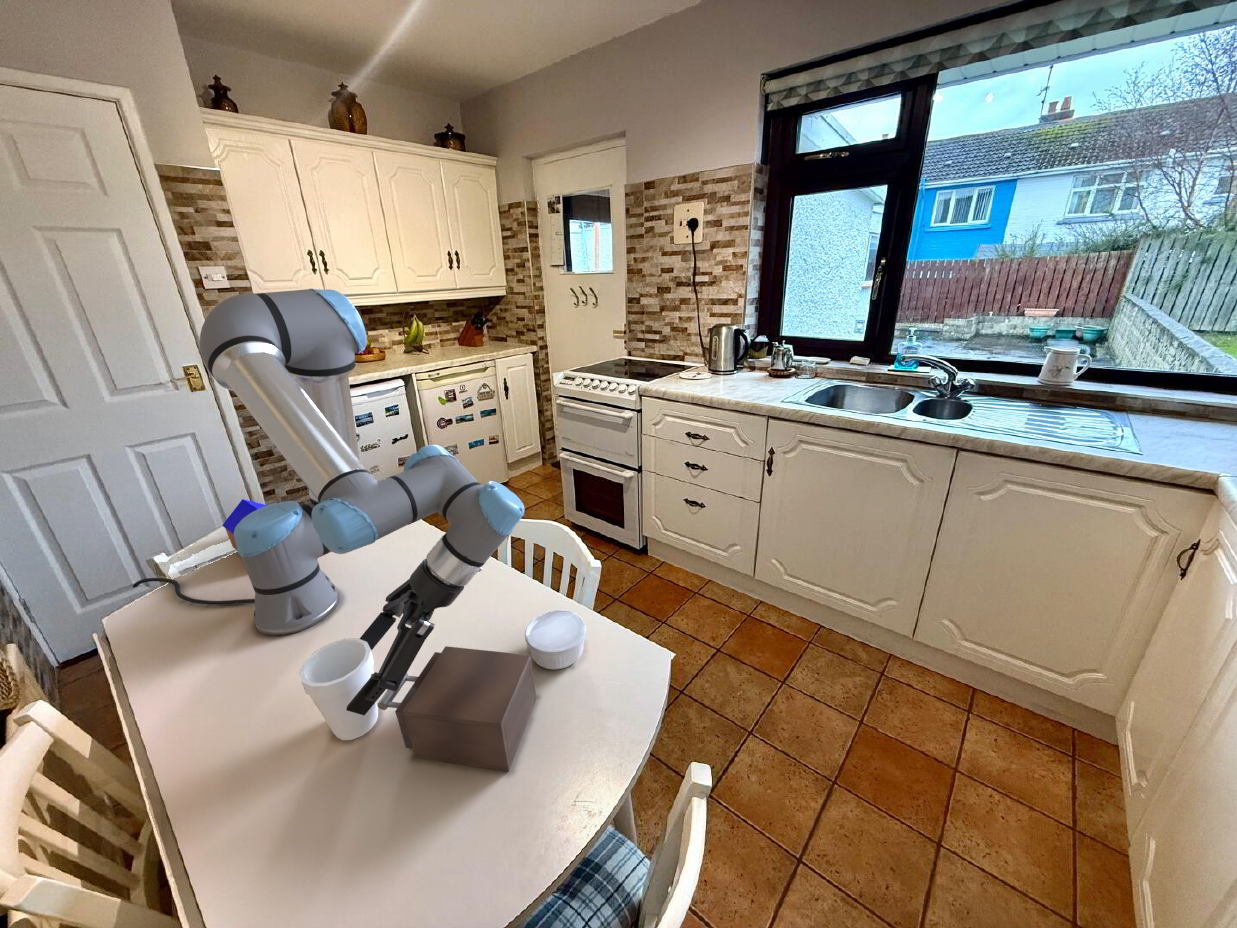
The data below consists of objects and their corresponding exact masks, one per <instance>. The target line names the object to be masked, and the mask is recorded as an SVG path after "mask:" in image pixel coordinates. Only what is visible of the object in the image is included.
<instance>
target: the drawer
mask: <svg viewBox="0 0 1237 928" xmlns="http://www.w3.org/2000/svg"><path fill="white" fill-rule="evenodd" d="M440 654H441V652H438V651H435V652H434V653H432V655H431V657H430V659H429V660H428V662H427V663H426V664H425V666H424V668H423V669H422V671H421V672H420V674H419V675H418V676H415V675H409V674H408V672H407V673H406V675H405V677H404V678H403V680H402V682H401V684H400V686H399V687H398V689H397V690H396V691H395V692H394V691H391V690H388V689H386V690H385V692H384V693H383V694H382V697H380V700H378V701H377V706H378V709H380V710H382V711H386V710H387V709H388V708H391V709H395V711H394V712H395V714H396V720H397V722H398V726H399V730H400V733H401V736H402V740H403V743H404V747H405V749H406V750H407V749H408V750H413V748H412V744H411V741H410V737H409V733H408V730H407V726H406V723H405V719H404V715H403V710H404V709H405V707H406V706H407V704H408V703H409V701H410V700H411V698H412V696H413V695H414V693H415V692H416V690H417V689H418V687H419V686H420V684H421V683H422V681H423V680H424V678H425V677H426V675H427V674H428V672H429V671H430V669H431V668H432V666H433V665H434V663H435V661H436V660H437V658H438V657H439V655H440ZM406 682H413V684H412V685H411V687H410V688H409V690H408V691H407V693H405V696H404V697H403V698H402V700H401V701H400V702H398V701H394V699H395V698H396V697H397V695H398V694H399V692H400V690H401V689H402V688H403V686H404V685H405V684H406Z"/></svg>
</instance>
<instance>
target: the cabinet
mask: <svg viewBox="0 0 1237 928" xmlns="http://www.w3.org/2000/svg"><path fill="white" fill-rule="evenodd" d="M440 653H441V654H440V655H439V657H438V658H437V660H436V661H435V663H434V665H433V666H432V668H431V669H430V671H429V672H428V674H427V675H426V677H425V678H424V680H423V681H422V683H421V684H420V686H419V687H418V689H417V690H416V692H415V693H414V695H413V696H412V698H411V700H410V701H409V703H408V704H407V706H406V707H405V709H404V710H403V715H404V719H405V723H406V726H407V730H408V733H409V737H410V741H411V744H412V748H413V749H412V752H413V754H414V758H415V759H418V760H426V761H432V762H433V761H434V762H440V763H446V764H454V765H459V766H467V767H473V768H474V767H476V768H482V769H488V770H496V771H502V772H510V769H511V767H512V765H513V762H514V759H515V756H516V754H517V751H518V749H519V746H520V743H521V740H522V738H523V735H524V732H525V730H526V727H527V725H528V722H529V719H530V716H531V714H532V712H533V709H534V706H535V704H536V700H537V695H536V694H537V693H536V686H535V685H536V684H535V678H534V671H533V663H532V655H531V654H525V653H524V654H523V653H515V652H507V651H495V650H487V649H477V648H468V647H467V648H466V647H458V646H447V645H445V646H444V648H443V649H442V651H441V652H440Z"/></svg>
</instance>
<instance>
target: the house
mask: <svg viewBox="0 0 1237 928" xmlns="http://www.w3.org/2000/svg"><path fill="white" fill-rule="evenodd" d="M267 505H268V504H265V503H261V502H256V501H252V500H248V499H244V498H242V499H241V500H240V501H239V502H238V504H237V505H236V507H235V508H234V509H233V511H232V512H231V513H230V514H229V515H228V517H227V518H226V520H224V522H223V524H222V526H221V527H223V528H224V529H225V531H226V535H227V536H228V539H229V541H230V544H231V547H232V548H233V549H234V550H236V551H237V546H236V542H235V538H234V530H235V528H236V526H237V525H238V524H239V523H240V521H241V520H242V519H243V518H244V517H246V516H247V515H249V514H250V513H252V512H254V511H256V510H258V509H260V508H262V507H264V506H267Z"/></svg>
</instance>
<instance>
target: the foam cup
mask: <svg viewBox="0 0 1237 928" xmlns="http://www.w3.org/2000/svg"><path fill="white" fill-rule="evenodd" d="M374 663H375V658H374V655H373V652H372V650H371V649H370V647H369V645H368V643H367V642H366V641H363V640H361V639H360V638H359V637H356V638H355V637H354V638H351V637H350V638H342V639H338V640H335V641H331V642H329V643H327V644H326V645H323V646H321V647H320V648H319V649H317V650H315V651H314V652H313V653H312V654H311V655H310V656H308V657H307V658H306V659H305V660H304V661H303V664H302V665H301V668H300V670H299V672H298V674H299V678H300V680H301V681H300V682H301V684H302V686H303V689H304V691H305V694H306V695H308V696H309V697H310V698H311V700H312V702H313V703H314V705H315V706H316V708H317V710H318V711H319V713H320V714H321V716H322V717H323V719H324V720H325V722H326V723H327V725H328V726H329V728H330V730H331V732H332V733H333V735H334V736H335V737H336V738H337V739H339V740H340V741H341V740H342V741H352V740H355V739H358V738H360V737H362V736H364V735H365V734H367V733H368V732H370V731H371V730H372V729H373V727H374V726H375V725H376V723H377V721H378V718H379V707H378V706H377V704H378V700H377V701H376V702H375V703H374V705H373V706H372V707H371V708H370V709H369V711H368V712H367V713H366V714H365V716H364V715H361V714H357V713H354V712H350V711H347V710H346V709H347V705H348V704H349V703H350V702H351V701H352V699H353V698H354V697H355V696H356V695H357V693H358V692H359V691H360V690H361V689H362V687H363V686H364V685H365V684H366V682H367V681H368V680H369V679H370V678H371V675H372V674H374V673H375V669H374V665H375V664H374Z"/></svg>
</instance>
